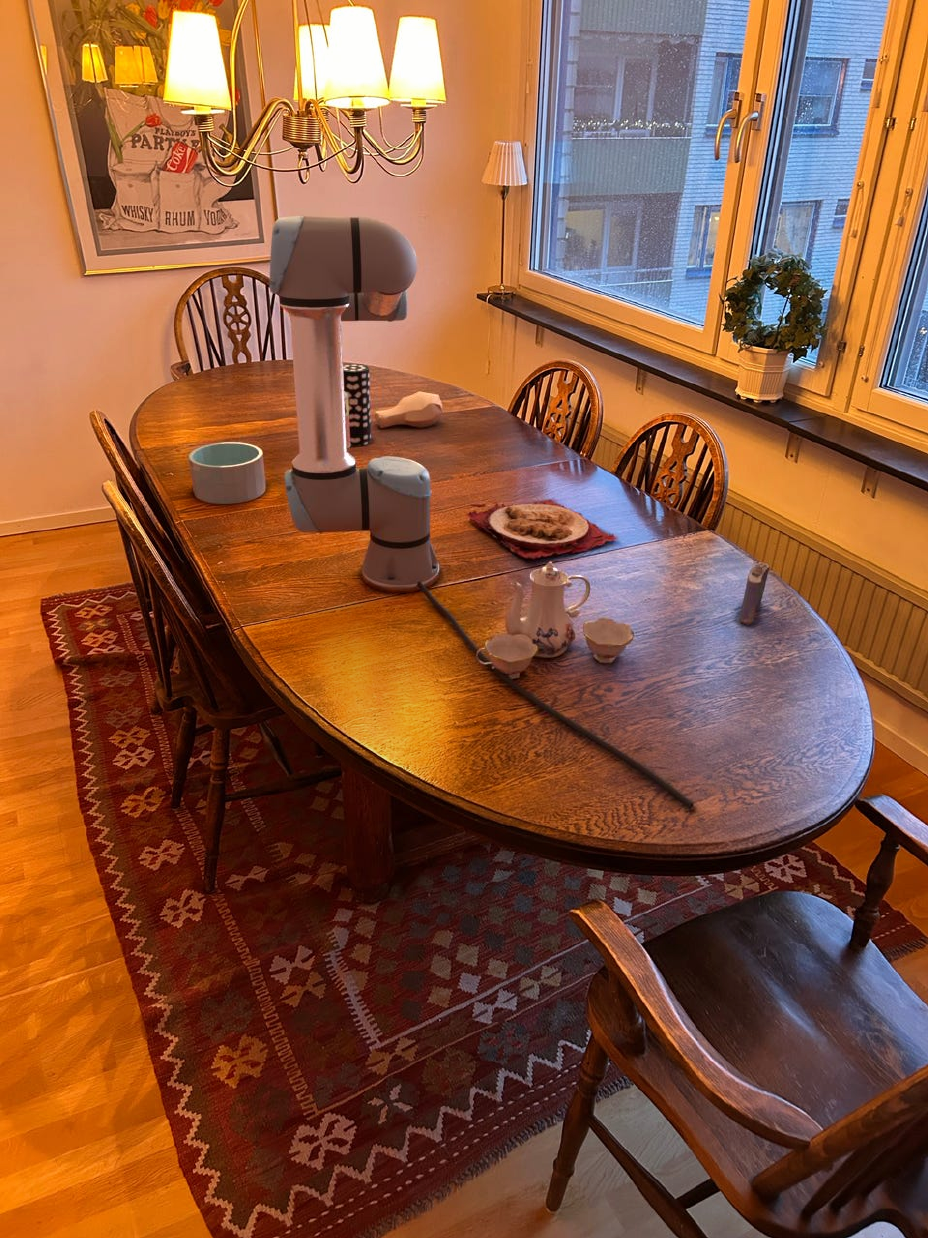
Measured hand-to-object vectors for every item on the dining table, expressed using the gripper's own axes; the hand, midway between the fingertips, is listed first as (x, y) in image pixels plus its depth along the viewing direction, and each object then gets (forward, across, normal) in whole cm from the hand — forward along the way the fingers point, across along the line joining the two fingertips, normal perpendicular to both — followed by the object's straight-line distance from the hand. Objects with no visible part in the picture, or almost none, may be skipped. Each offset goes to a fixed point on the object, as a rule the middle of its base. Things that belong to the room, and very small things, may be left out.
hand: (326, 434), depth 206 cm
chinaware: (+14, -88, 0) cm, 89 cm away
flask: (+14, -96, -41) cm, 105 cm away
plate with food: (+13, -47, -29) cm, 57 cm away
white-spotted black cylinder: (+12, +25, -20) cm, 35 cm away
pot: (+13, +8, +22) cm, 27 cm away
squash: (+12, +30, -40) cm, 52 cm away
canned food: (+3, 0, 0) cm, 3 cm away
